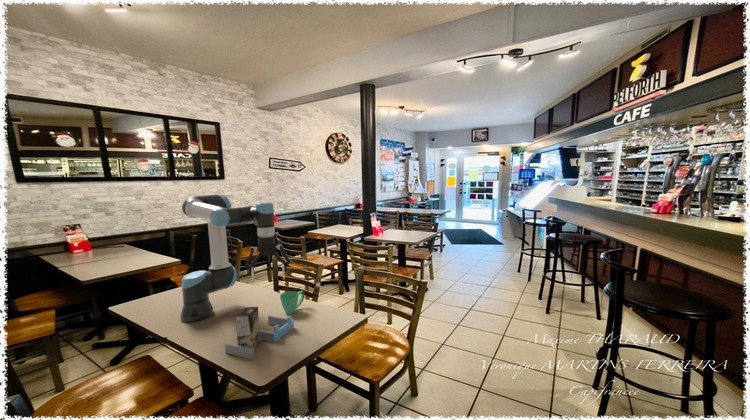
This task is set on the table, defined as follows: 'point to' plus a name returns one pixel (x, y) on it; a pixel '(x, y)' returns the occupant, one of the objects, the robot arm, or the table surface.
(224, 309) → the table surface
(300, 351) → the table surface
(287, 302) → the mug
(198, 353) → the table surface
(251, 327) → the coffee box
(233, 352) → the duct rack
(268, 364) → the table surface
